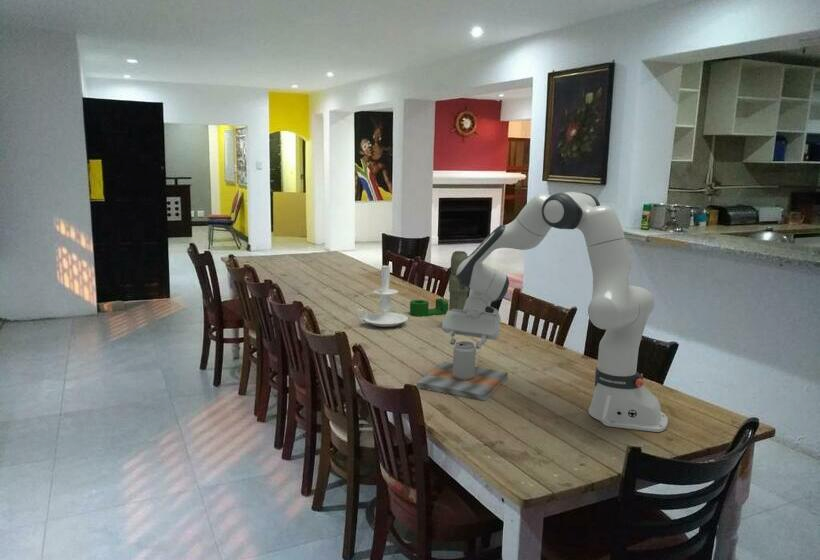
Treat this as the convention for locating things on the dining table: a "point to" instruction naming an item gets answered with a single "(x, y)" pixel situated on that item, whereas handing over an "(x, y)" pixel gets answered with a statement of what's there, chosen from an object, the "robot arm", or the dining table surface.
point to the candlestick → (384, 305)
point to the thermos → (457, 283)
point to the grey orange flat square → (463, 382)
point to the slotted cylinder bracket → (421, 308)
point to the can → (464, 360)
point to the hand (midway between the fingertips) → (464, 345)
